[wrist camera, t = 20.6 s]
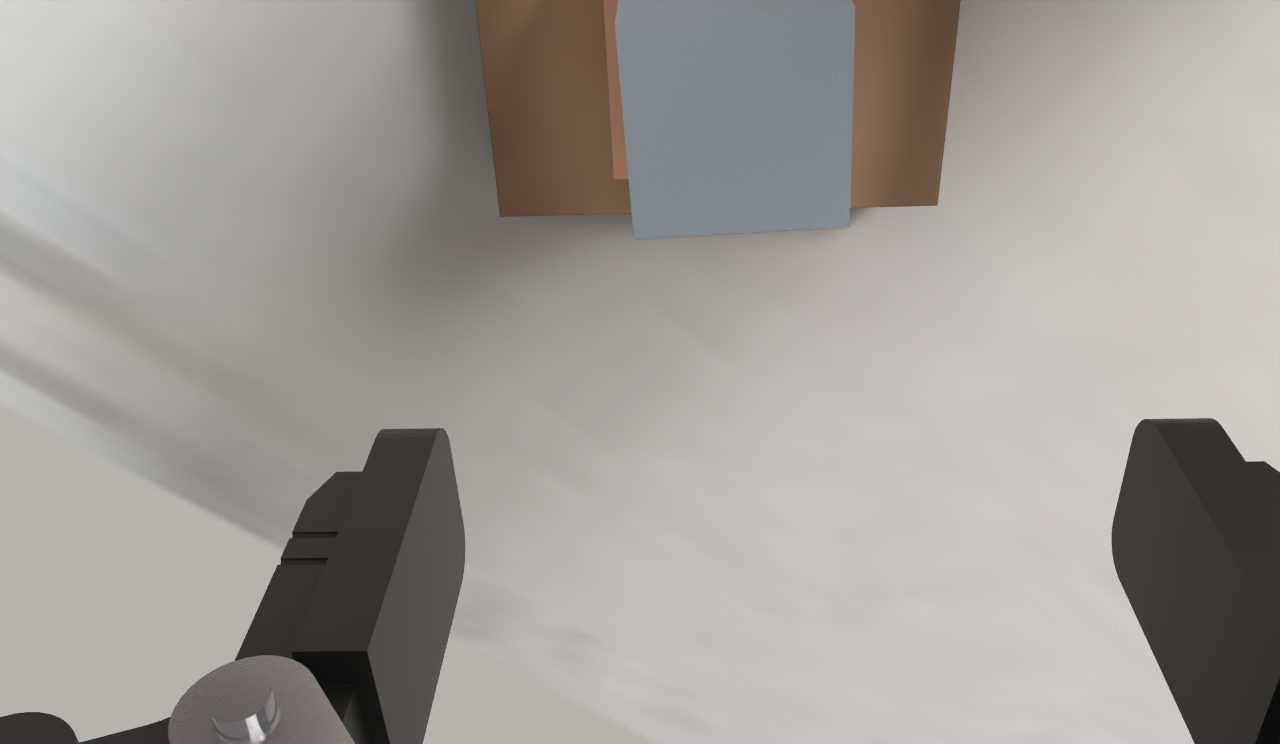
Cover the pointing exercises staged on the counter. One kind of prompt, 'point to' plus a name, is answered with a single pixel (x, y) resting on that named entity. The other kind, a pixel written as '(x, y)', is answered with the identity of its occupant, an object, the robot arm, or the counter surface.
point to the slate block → (736, 114)
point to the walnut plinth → (580, 111)
